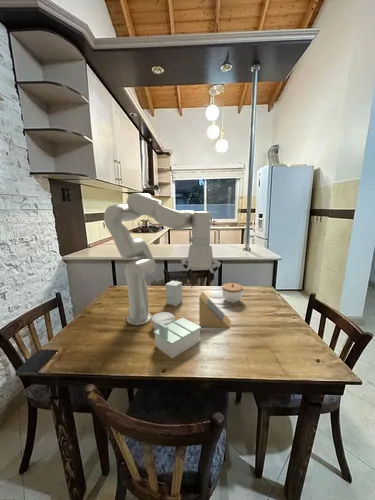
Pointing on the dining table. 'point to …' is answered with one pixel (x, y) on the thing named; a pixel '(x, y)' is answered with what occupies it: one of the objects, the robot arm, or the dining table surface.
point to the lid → (176, 330)
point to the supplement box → (174, 293)
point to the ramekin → (162, 319)
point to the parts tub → (177, 344)
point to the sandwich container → (211, 314)
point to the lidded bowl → (232, 292)
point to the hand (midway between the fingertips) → (200, 279)
